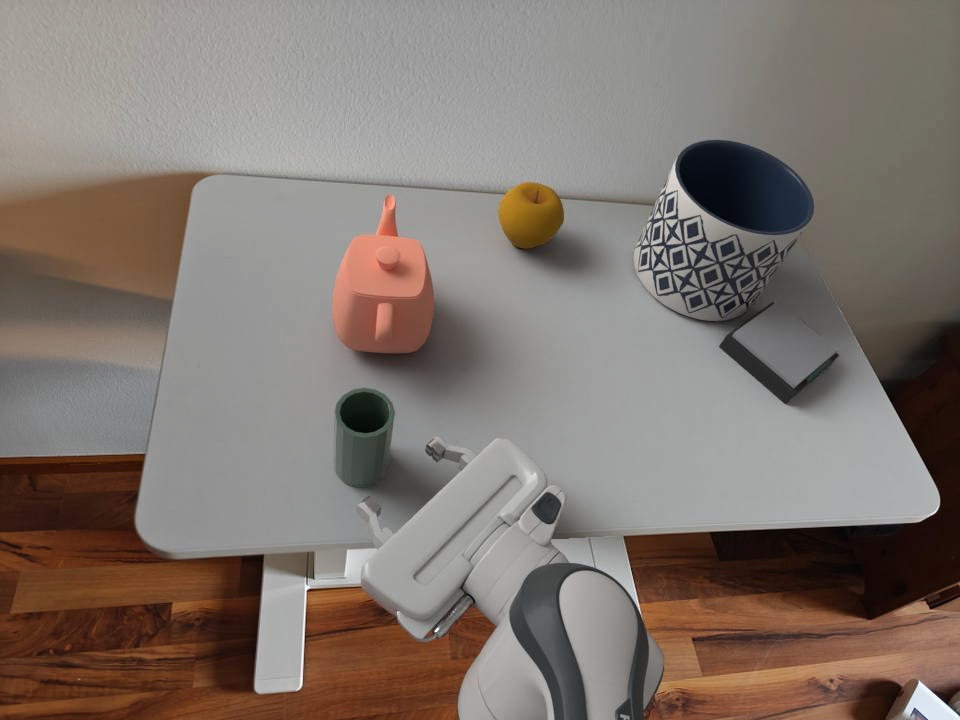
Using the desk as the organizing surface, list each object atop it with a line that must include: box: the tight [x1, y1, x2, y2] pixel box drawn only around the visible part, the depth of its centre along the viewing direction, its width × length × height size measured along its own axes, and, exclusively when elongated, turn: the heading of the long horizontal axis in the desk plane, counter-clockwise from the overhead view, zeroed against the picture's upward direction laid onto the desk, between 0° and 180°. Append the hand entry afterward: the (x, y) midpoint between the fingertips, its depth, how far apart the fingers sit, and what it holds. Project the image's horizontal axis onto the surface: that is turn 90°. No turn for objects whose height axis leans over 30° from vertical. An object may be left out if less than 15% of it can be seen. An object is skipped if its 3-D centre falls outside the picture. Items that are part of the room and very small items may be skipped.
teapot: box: [331, 193, 435, 354], centre depth 85 cm, size 20×12×12 cm, turn 3°
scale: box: [718, 301, 840, 405], centre depth 95 cm, size 11×11×3 cm
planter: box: [632, 139, 815, 322], centre depth 97 cm, size 18×18×16 cm
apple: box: [497, 181, 565, 250], centre depth 99 cm, size 9×9×9 cm
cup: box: [333, 387, 396, 488], centre depth 73 cm, size 6×6×10 cm
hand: (397, 472), depth 71 cm, fingers open, 8 cm apart
